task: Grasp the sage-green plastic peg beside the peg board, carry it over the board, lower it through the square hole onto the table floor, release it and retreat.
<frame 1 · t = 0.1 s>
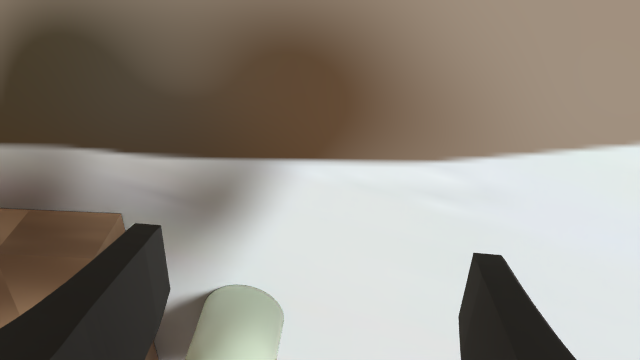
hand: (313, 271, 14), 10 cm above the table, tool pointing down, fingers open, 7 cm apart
peg board: (24, 328, 32), on the table
peg: (243, 314, 29), on the table
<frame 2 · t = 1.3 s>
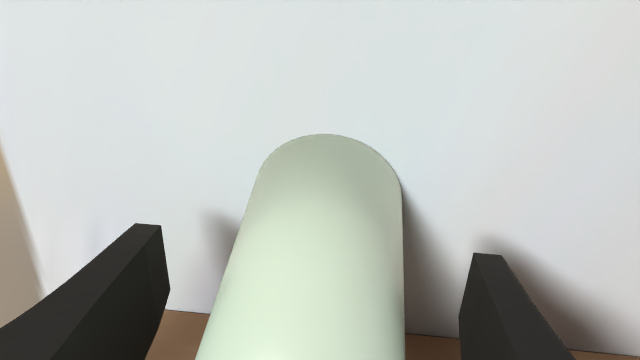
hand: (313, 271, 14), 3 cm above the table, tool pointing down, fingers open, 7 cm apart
peg: (327, 198, 16), on the table
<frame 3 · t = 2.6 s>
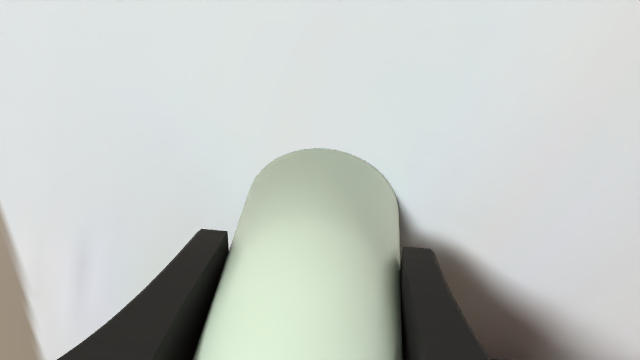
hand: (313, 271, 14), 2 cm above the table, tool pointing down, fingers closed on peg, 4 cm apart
peg: (322, 213, 16), on the table, touching gripper
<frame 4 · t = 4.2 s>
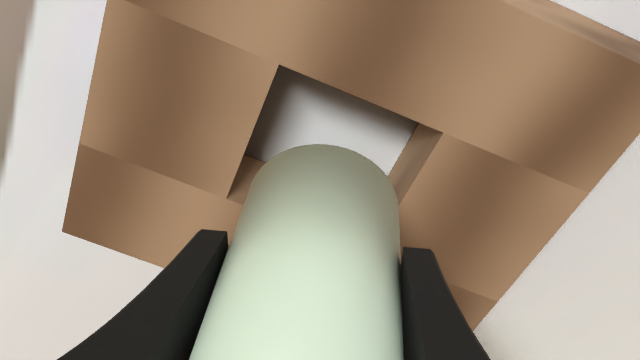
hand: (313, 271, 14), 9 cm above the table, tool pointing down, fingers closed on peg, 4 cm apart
peg board: (335, 124, 22), on the table
peg: (322, 210, 16), point 7 cm above the table, touching gripper
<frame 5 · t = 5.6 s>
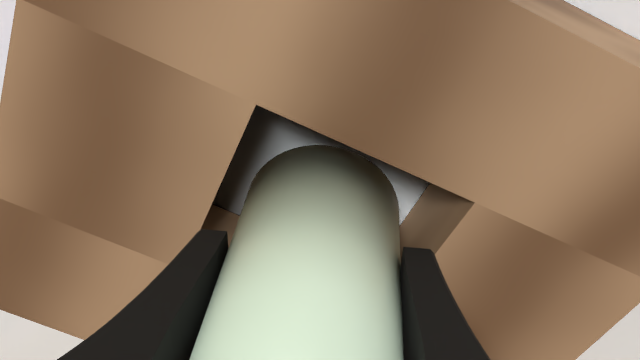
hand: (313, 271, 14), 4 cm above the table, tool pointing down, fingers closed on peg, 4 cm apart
peg board: (328, 172, 17), on the table
peg: (322, 211, 16), point 2 cm above the table, touching gripper
when the fingers open (4 cm above the table, at t = 6.6 s): peg drops 2 cm, resting in peg board.
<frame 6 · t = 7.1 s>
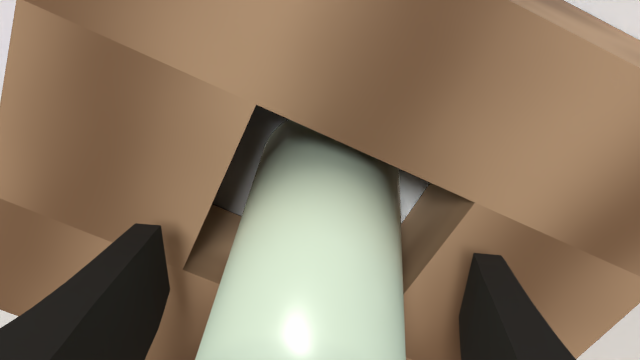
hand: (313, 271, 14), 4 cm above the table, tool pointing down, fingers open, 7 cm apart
peg board: (328, 172, 17), on the table
peg: (329, 171, 17), resting in peg board
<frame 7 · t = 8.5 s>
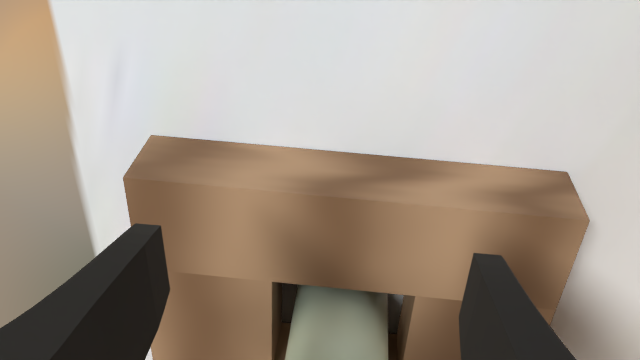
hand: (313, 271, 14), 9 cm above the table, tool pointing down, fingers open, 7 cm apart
peg board: (342, 286, 27), on the table
peg: (343, 284, 27), resting in peg board
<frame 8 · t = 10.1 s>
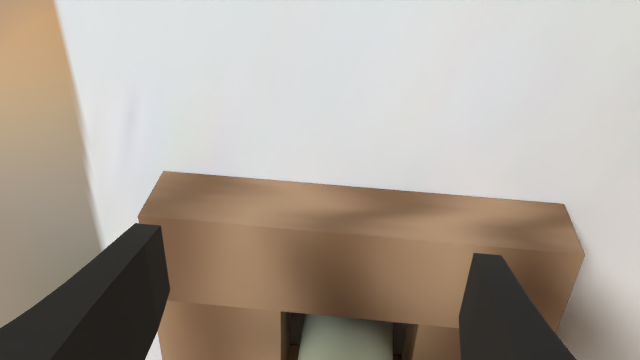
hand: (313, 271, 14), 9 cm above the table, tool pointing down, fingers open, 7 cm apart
peg board: (348, 310, 28), on the table
peg: (349, 309, 28), resting in peg board
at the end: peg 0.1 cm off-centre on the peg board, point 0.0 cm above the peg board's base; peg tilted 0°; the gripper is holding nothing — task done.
